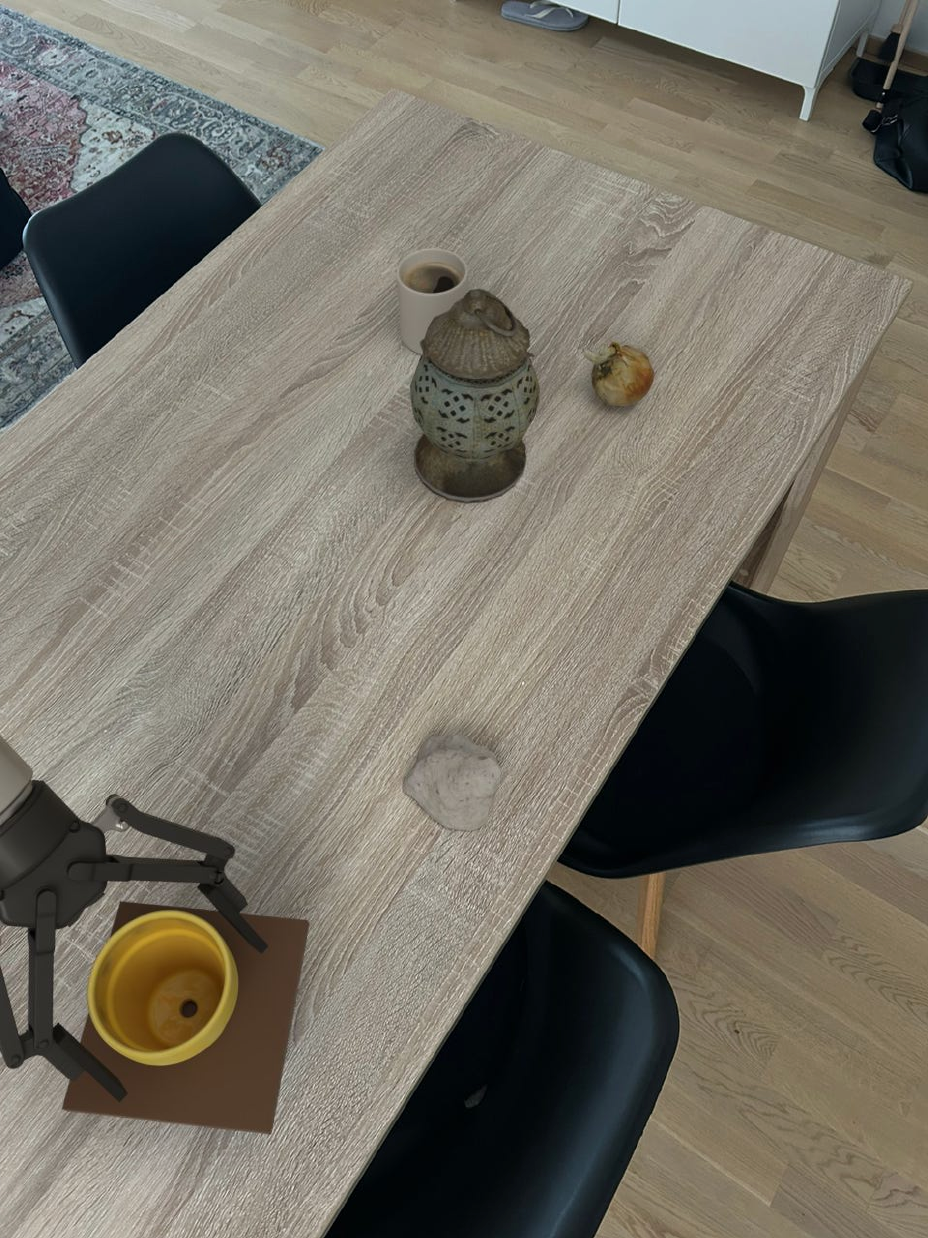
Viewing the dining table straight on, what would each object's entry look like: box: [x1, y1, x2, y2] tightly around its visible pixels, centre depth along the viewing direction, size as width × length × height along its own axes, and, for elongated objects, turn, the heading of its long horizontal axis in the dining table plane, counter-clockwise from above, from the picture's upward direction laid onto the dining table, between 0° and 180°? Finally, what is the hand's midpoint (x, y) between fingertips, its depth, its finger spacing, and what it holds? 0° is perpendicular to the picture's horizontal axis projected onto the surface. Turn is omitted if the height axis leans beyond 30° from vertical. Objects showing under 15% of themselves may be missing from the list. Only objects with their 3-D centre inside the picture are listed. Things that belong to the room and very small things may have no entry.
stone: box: [402, 734, 503, 832], centre depth 101 cm, size 10×5×10 cm
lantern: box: [409, 288, 541, 504], centre depth 114 cm, size 14×14×25 cm
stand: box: [61, 900, 310, 1136], centre depth 86 cm, size 16×16×9 cm
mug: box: [395, 247, 469, 356], centre depth 133 cm, size 11×10×10 cm
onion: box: [582, 341, 655, 407], centre depth 127 cm, size 8×8×8 cm
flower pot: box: [86, 910, 238, 1066], centre depth 78 cm, size 10×10×10 cm
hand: (191, 1015), depth 77 cm, fingers open, 13 cm apart
